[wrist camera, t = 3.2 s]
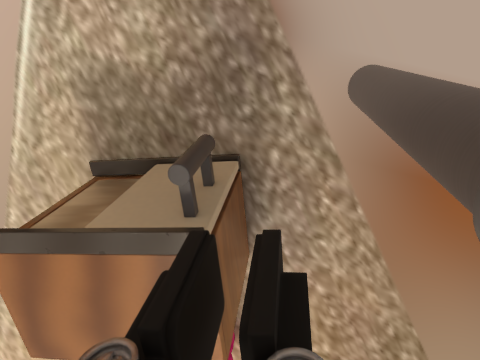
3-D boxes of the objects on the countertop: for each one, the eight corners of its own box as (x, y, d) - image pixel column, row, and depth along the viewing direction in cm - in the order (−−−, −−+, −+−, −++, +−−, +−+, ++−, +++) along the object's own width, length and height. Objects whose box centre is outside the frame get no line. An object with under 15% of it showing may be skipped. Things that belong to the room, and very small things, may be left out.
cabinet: (239, 153, 31) (201, 232, 18) (249, 254, 36) (225, 376, 22) (90, 160, 34) (-35, 232, 21) (117, 253, 38) (27, 361, 25)
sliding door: (234, 120, 29) (197, 168, 18) (239, 168, 31) (208, 241, 19) (148, 125, 31) (61, 174, 19) (157, 171, 32) (83, 241, 21)
